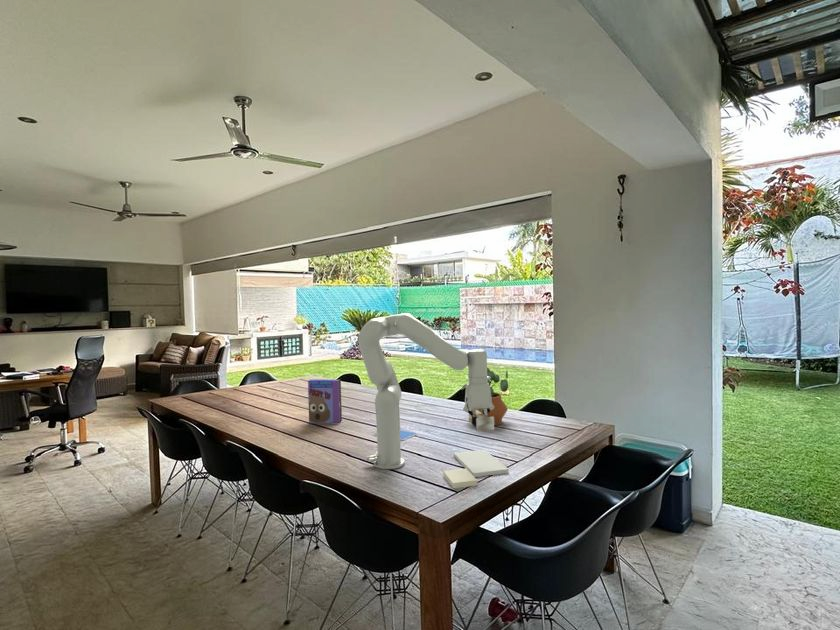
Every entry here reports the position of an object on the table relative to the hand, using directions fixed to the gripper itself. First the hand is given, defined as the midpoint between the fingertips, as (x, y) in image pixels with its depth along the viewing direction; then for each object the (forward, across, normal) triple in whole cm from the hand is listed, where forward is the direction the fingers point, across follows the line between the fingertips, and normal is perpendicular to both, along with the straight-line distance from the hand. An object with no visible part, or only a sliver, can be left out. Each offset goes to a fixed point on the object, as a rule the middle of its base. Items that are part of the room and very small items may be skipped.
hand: (479, 425), depth 180 cm
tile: (+15, +13, +7) cm, 21 cm away
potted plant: (+16, -25, -56) cm, 63 cm away
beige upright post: (0, 0, 0) cm, 0 cm away
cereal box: (+15, +58, -87) cm, 106 cm away
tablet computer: (+16, +25, -51) cm, 59 cm away
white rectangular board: (+16, 0, 0) cm, 16 cm away
